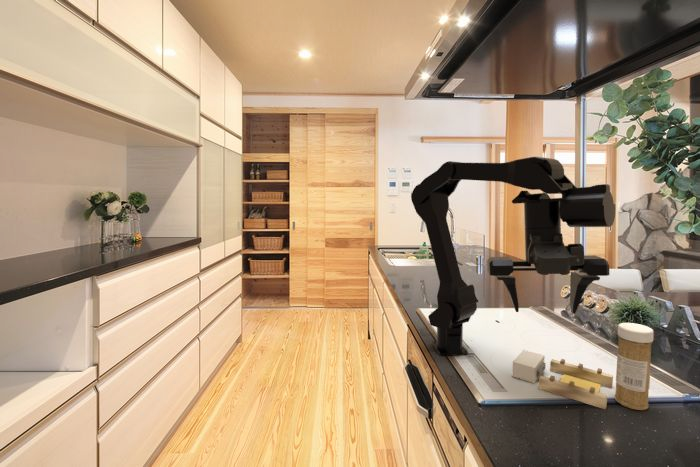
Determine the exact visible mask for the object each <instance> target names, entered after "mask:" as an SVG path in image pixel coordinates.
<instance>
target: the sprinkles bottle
mask: <svg viewBox="0 0 700 467" xmlns="http://www.w3.org/2000/svg"><path fill="white" fill-rule="evenodd" d="M617 335H618V336H617V338H618V344H617V345H618V348H617V355H616V356H617V358H616V372H615V375H616V376H615V381H616V382H615V394H614V399H615V401H616V402H617V403H618V404H620V405H622V406H623V407H625V408H628V409H632V410H638V411H645V410H647V409H648V408H649V390H650V384H651V359H652V358H651V357H652V356H651V355H652V344H653V341H654V329H653V328H651V327H649V326H647V325H644V324H639V323H633V322H621V323H619V324H618V326H617Z"/></svg>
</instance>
